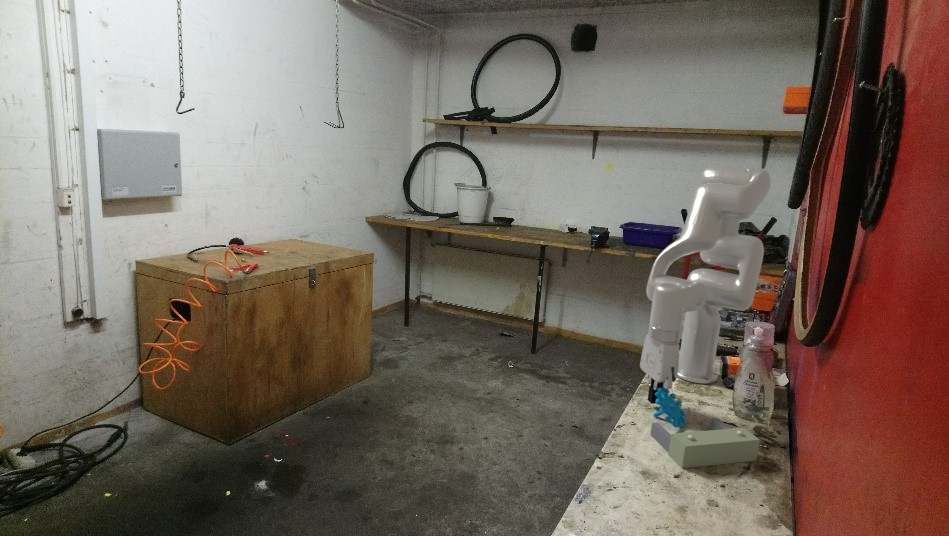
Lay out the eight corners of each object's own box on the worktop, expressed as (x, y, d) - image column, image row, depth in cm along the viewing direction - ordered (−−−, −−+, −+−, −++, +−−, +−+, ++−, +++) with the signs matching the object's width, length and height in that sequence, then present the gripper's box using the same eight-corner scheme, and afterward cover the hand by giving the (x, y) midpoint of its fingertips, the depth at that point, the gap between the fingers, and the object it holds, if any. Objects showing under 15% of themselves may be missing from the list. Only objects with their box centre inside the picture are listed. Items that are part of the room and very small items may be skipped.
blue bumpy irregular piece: (676, 429, 125) (653, 389, 129) (655, 439, 129) (634, 399, 133) (696, 420, 133) (674, 383, 137) (676, 430, 137) (655, 392, 141)
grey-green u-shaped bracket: (648, 435, 126) (651, 412, 124) (716, 429, 130) (720, 407, 129) (681, 468, 113) (685, 443, 112) (755, 460, 118) (760, 437, 116)
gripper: (635, 323, 141) (626, 389, 145) (667, 345, 127) (657, 417, 131) (661, 323, 143) (652, 388, 147) (696, 344, 129) (684, 415, 133)
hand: (654, 401), depth 139 cm, fingers closed
